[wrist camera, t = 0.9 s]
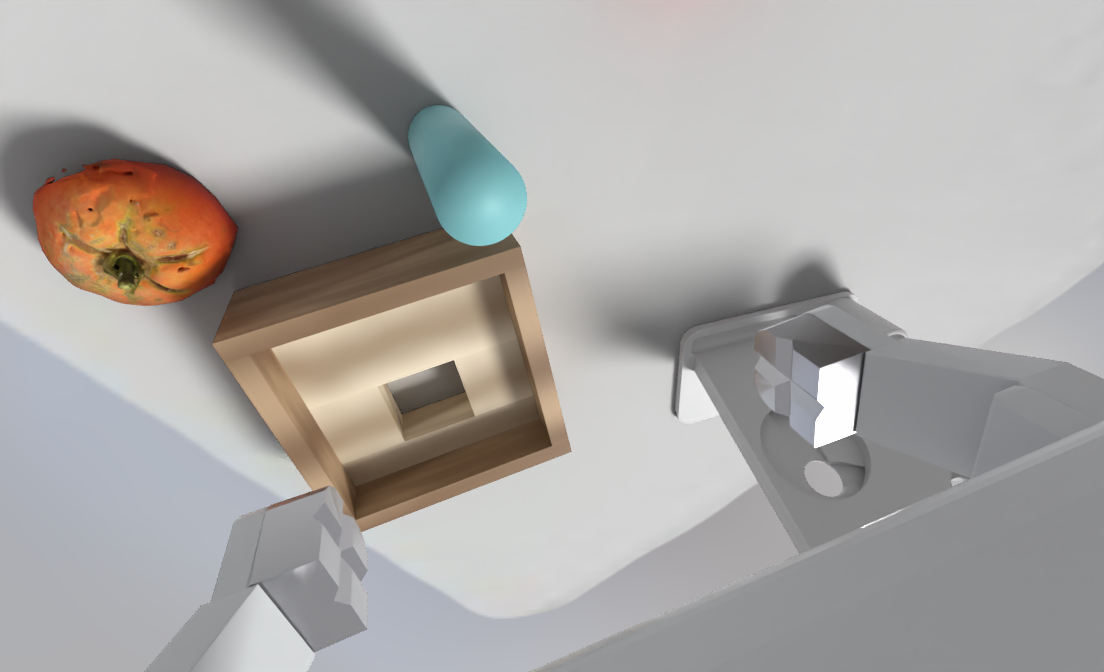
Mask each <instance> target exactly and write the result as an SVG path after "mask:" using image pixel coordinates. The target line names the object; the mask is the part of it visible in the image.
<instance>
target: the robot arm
mask: <svg viewBox="0 0 1104 672" xmlns="http://www.w3.org/2000/svg"><path fill="white" fill-rule="evenodd" d="M754 350H755V351H756V352H757V353H758V354H759V355H760V356H761V357H760V359H759V361H758V363H757V364H756V366H755V368H754V376H755V384H756V387H757V389H758V392H759V395H760V396H761V398H762V399H763V401H764V402H765V404H766V405H767V406H768V407H769V408H771V409H772V410H773V411H774V412H776V413H779V414H783V415H786V416H789V418H790V427H792V428H793V429H794V430H795V431H796V432H797V433H798V434H799V435H801V436H802V437H803V438H804V439H805V440H806V441H807V442H808V443H810V444H811V445H812V446H813V447H814V448H816V447H819V446H821V445H824V444H827V443H829V442H832V441H835V440H837V439H840V438H843V437H845V436H848V435H851V434H853V433H856V434H855V435H857V436H859V437H862V438H865V439H867V440H870V441H872V442H875V443H878V444H880V445H883V446H886V447H888V448H891V449H894V450H896V451H899V452H902V453H904V454H907V455H910V456H912V457H915V458H918V459H920V460H923V461H926V462H928V463H931V464H934V465H936V466H939V467H942V468H944V469H947V470H950V471H952V472H955V473H958V474H960V475H963V476H966V477H968V478H970V479H969V480H966V481H964V482H962V483H959V484H957V485H955V486H953V487H950V488H948V489H946V490H943V491H941V492H939V493H937V494H934V495H932V496H930V497H927V498H925V499H923V500H921V501H918V502H916V503H914V504H911V505H909V506H907V507H905V508H902V509H900V510H898V511H895V512H893V513H891V514H889V515H886V516H884V517H882V518H879V519H877V520H875V521H873V522H870V523H868V524H866V525H864V526H861V527H859V528H857V529H854V530H852V531H850V532H848V533H845V534H843V535H841V536H838V537H836V538H834V539H832V540H829V541H827V542H825V543H823V544H820V545H818V546H816V547H813V548H811V549H809V550H807V551H804V552H802V553H800V554H798V555H795V556H793V557H791V558H788V559H786V560H784V561H782V562H779V563H777V564H775V565H773V566H770V567H768V568H766V569H763V570H761V571H759V572H757V573H754V574H752V575H750V576H747V577H745V578H743V579H741V580H738V581H736V582H734V583H731V584H729V585H727V586H725V587H722V588H720V589H718V590H716V591H713V592H711V593H708V594H706V595H704V596H702V597H699V598H697V599H695V600H692V601H690V602H688V603H686V604H683V605H681V606H679V607H677V608H674V609H672V610H670V611H667V612H665V613H663V614H660V615H658V616H656V617H653V618H651V619H649V620H647V621H644V622H642V623H640V624H638V625H635V626H633V627H631V628H628V629H626V630H624V631H622V632H619V633H617V634H614V635H612V636H610V637H608V638H605V639H603V640H601V641H599V642H596V643H594V644H592V645H589V646H587V647H585V648H582V649H580V650H578V651H576V652H573V653H571V654H569V655H566V656H564V657H562V658H560V659H557V660H555V661H553V662H550V663H548V664H546V665H544V666H541V667H539V668H537V669H534V670H532V671H530V672H1104V379H1103V378H1100V377H1098V376H1096V375H1094V374H1092V373H1089V372H1087V371H1085V370H1083V369H1081V368H1078V367H1076V366H1074V365H1072V364H1070V363H1067V362H1062V361H1054V360H1048V359H1042V358H1035V357H1028V356H1022V355H1015V354H1009V353H1002V352H995V351H989V350H981V349H976V348H969V347H962V346H956V345H949V344H942V343H936V342H929V341H923V340H916V339H909V338H903V339H900V340H896V339H894V338H892V337H890V336H889V335H887V334H885V333H883V332H881V331H879V330H878V329H876V328H874V327H872V326H870V325H869V324H867V323H865V322H863V321H861V320H859V319H858V318H856V317H854V316H852V315H850V314H849V313H847V312H845V311H843V310H841V309H839V308H838V307H836V306H832V305H824V306H821V307H819V308H816V309H814V310H811V311H808V312H806V313H803V314H802V315H800V316H797V317H795V318H792V319H789V320H786V321H784V322H781V323H778V324H775V325H773V326H770V327H767V328H765V329H762V330H759V331H757V333H756V335H755V338H754ZM366 572H367V553H366V547H365V542H364V538H363V536H362V533H361V531H360V528H359V526H358V525H357V523H356V521H355V519H354V518H353V517H350V516H348V515H345V514H343V499H342V498H341V496H340V495H339V493H338V492H337V490H336V489H335V487H332V486H326V487H323V488H320V489H317V490H314V491H311V492H308V493H305V494H302V495H299V496H296V497H293V498H290V499H287V500H284V501H282V502H279V503H276V504H273V505H270V506H269V507H265V508H262V509H259V510H256V511H254V512H250V513H248V514H245V515H242V516H240V517H239V518H238V519H237V520H236V521H235V522H234V523H233V526H232V530H231V533H230V537H229V540H228V544H227V547H226V551H225V554H224V558H223V561H222V565H221V568H220V571H219V575H218V578H217V582H216V585H215V589H214V592H213V596H212V600H211V602H209V603H207V604H204V605H202V606H200V608H198V610H197V611H196V612H195V613H194V615H192V617H191V618H190V619H189V620H188V621H187V622H186V623H185V625H184V626H183V627H182V628H181V629H180V631H179V632H178V633H177V634H176V635H175V636H174V637H173V639H172V640H171V641H170V642H169V643H168V644H167V646H166V647H165V648H164V649H163V650H162V652H161V653H160V654H159V655H158V656H157V657H156V659H155V660H154V661H153V662H152V663H151V664H150V665H149V667H148V668H147V669H146V670H145V671H144V672H307V671H308V669H309V667H310V665H311V663H312V661H313V659H314V657H315V653H314V652H316V651H318V650H321V649H323V648H325V647H328V646H330V645H332V644H335V643H337V642H339V641H341V640H344V639H346V638H348V637H351V636H353V635H355V634H358V633H360V632H362V631H364V630H367V602H368V598H367V597H368V594H367V592H366V590H365V588H364V587H363V585H362V584H361V580H362V579H363V577H364V575H365V574H366Z"/></svg>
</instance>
